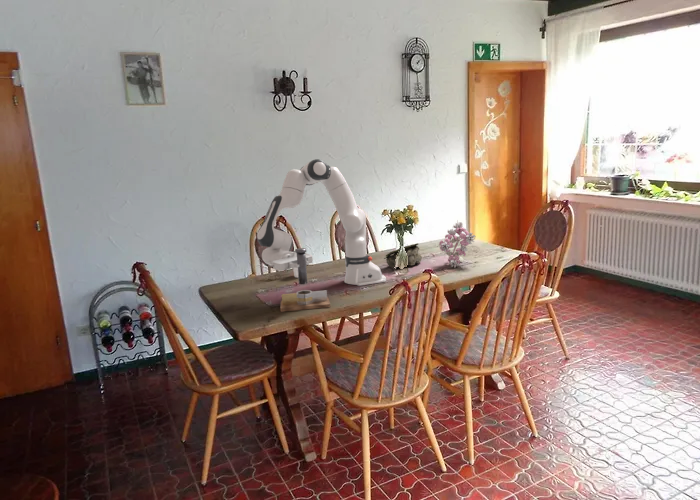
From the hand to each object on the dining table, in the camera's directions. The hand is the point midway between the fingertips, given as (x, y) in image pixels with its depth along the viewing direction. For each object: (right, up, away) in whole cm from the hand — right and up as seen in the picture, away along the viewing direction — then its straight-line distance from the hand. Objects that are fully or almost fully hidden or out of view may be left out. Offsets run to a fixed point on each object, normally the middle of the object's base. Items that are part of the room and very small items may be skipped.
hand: (302, 264), depth 247 cm
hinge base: (+1, -19, +5) cm, 20 cm away
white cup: (-6, -8, +56) cm, 57 cm away
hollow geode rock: (+53, -3, +67) cm, 85 cm away
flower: (+83, -2, +62) cm, 104 cm away
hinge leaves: (+1, -18, +5) cm, 19 cm away
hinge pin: (0, -9, +3) cm, 9 cm away
